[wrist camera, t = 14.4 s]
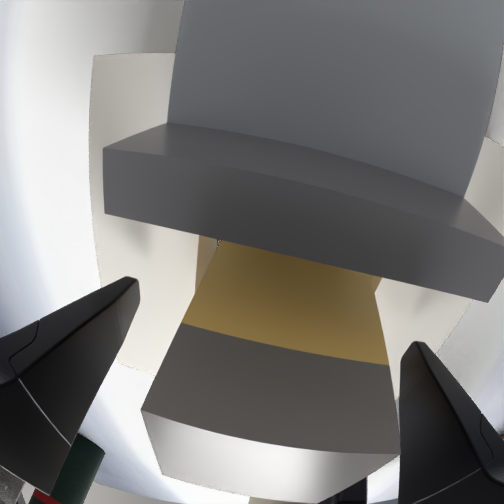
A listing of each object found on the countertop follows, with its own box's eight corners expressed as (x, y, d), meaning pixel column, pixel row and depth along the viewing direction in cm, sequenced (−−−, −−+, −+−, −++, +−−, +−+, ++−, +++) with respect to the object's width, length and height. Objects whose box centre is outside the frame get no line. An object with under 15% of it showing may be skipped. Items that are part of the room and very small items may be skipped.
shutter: (436, 224, 7) (487, 302, 5) (175, 161, 8) (104, 213, 5) (492, -8, 4) (567, -26, 1) (219, -84, 4) (171, -147, 1)
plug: (322, 299, 14) (316, 503, 6) (231, 279, 14) (162, 474, 6) (353, 217, 11) (401, 453, 4) (246, 192, 12) (140, 410, 4)
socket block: (372, 376, 16) (376, 419, 13) (140, 324, 17) (117, 362, 14) (491, 144, 8) (535, 167, 6) (141, 57, 9) (93, 55, 7)
